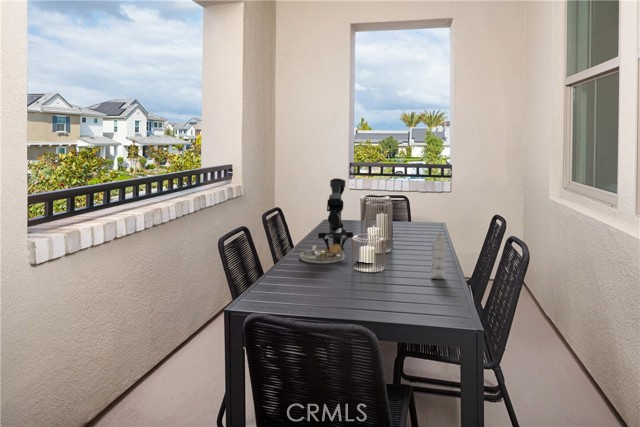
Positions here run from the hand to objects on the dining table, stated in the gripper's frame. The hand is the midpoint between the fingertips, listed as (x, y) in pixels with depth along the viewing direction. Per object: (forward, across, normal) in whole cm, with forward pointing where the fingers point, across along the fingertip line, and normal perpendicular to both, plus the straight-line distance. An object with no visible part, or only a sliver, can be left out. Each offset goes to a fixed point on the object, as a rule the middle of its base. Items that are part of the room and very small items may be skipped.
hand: (334, 250), depth 254 cm
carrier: (+4, -7, 0) cm, 8 cm away
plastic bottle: (+4, +37, -47) cm, 60 cm away
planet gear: (+1, 0, 0) cm, 1 cm away
